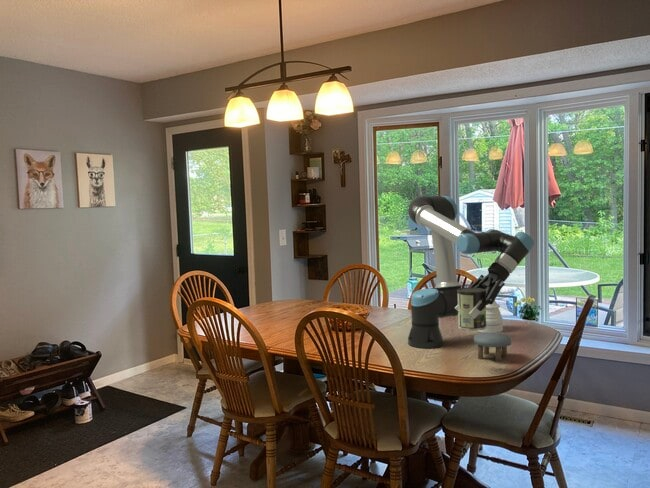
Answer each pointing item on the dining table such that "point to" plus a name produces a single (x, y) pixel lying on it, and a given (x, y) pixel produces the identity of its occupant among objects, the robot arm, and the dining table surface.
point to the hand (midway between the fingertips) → (464, 313)
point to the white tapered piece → (493, 319)
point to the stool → (492, 344)
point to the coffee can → (466, 304)
